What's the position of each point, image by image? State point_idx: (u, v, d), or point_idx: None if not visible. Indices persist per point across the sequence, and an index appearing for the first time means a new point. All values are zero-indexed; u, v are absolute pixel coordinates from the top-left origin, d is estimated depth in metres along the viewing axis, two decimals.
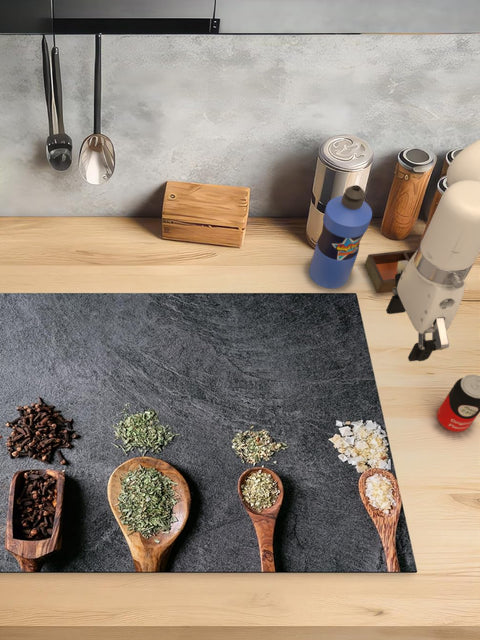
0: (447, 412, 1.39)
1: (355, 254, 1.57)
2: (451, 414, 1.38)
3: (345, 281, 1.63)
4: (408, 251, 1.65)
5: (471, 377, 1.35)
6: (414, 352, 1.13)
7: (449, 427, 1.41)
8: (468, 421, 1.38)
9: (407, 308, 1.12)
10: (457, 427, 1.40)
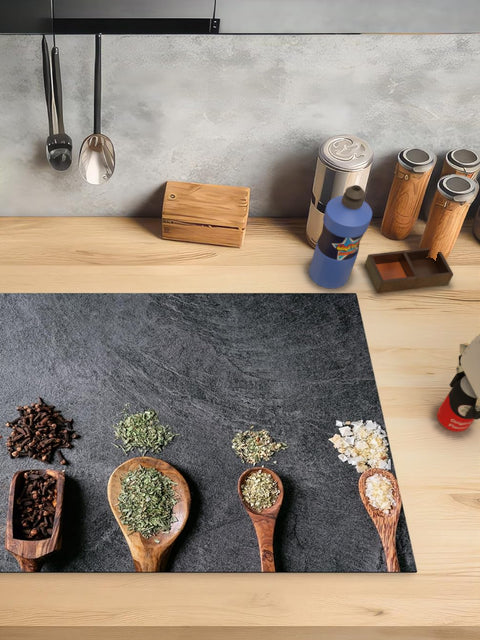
0: (447, 412, 1.39)
1: (355, 254, 1.57)
2: (451, 414, 1.38)
3: (345, 281, 1.63)
4: (408, 251, 1.65)
5: None
6: (471, 412, 1.34)
7: (449, 427, 1.41)
8: (468, 421, 1.38)
9: (470, 379, 1.31)
10: (457, 427, 1.40)
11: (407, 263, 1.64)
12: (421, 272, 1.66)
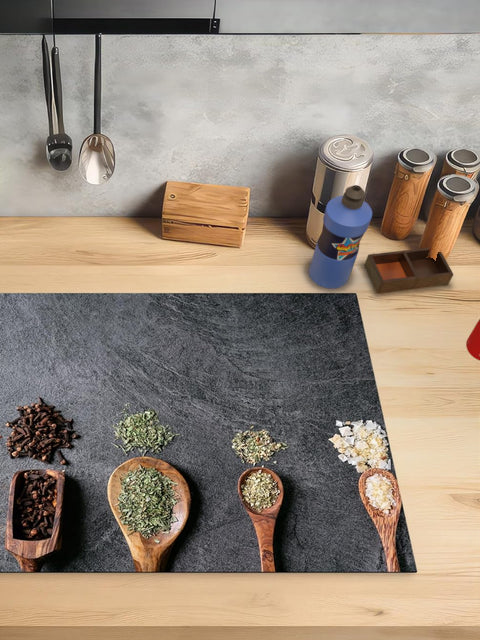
0: (477, 340, 1.26)
1: (355, 254, 1.57)
2: None
3: (345, 281, 1.63)
4: (408, 251, 1.65)
5: None
6: None
7: None
8: None
9: None
10: None
11: (407, 263, 1.64)
12: (421, 272, 1.66)
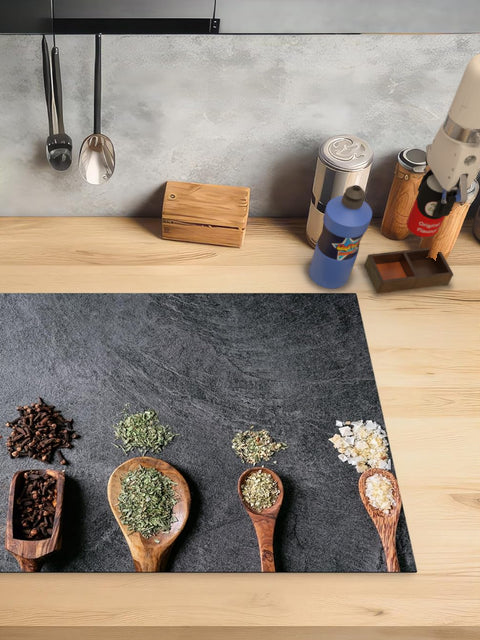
0: (415, 215, 1.44)
1: (355, 254, 1.57)
2: (419, 216, 1.43)
3: (345, 281, 1.63)
4: (408, 251, 1.65)
5: None
6: (437, 208, 1.39)
7: (418, 232, 1.46)
8: (435, 222, 1.43)
9: (436, 172, 1.36)
10: (425, 230, 1.45)
11: (407, 263, 1.64)
12: (421, 272, 1.66)
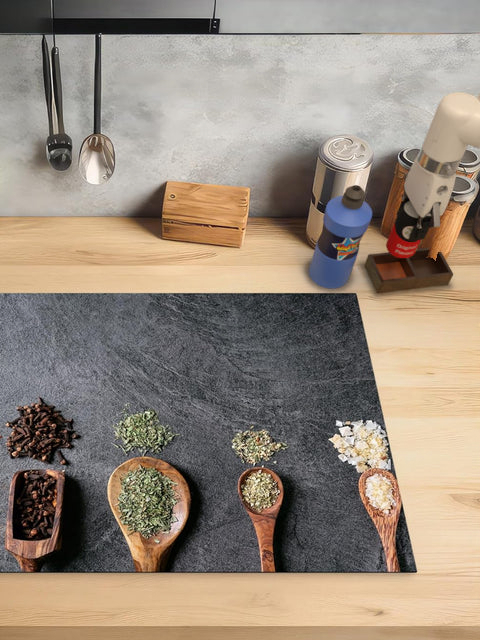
0: (393, 238, 1.54)
1: (355, 254, 1.57)
2: (397, 239, 1.53)
3: (345, 281, 1.63)
4: None
5: None
6: (413, 232, 1.49)
7: (396, 253, 1.56)
8: (412, 245, 1.53)
9: (412, 199, 1.46)
10: (403, 252, 1.55)
11: (407, 263, 1.64)
12: (421, 272, 1.66)
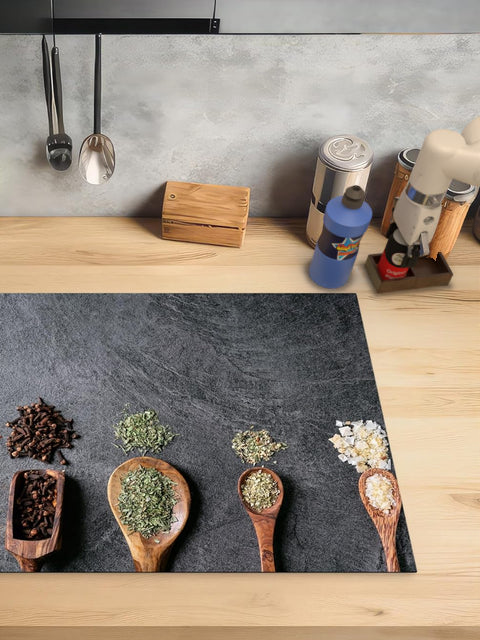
0: (383, 263, 1.60)
1: (355, 254, 1.57)
2: (387, 264, 1.60)
3: (345, 281, 1.63)
4: None
5: None
6: (404, 260, 1.54)
7: (386, 278, 1.62)
8: (401, 270, 1.59)
9: (400, 228, 1.53)
10: (392, 277, 1.61)
11: None
12: (421, 272, 1.66)
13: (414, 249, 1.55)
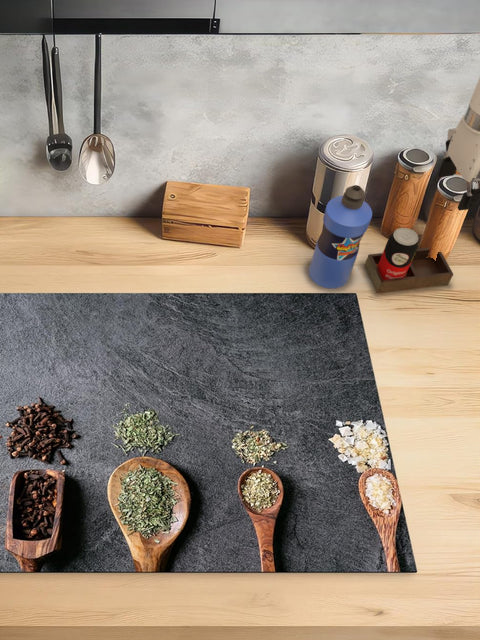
0: (383, 263, 1.60)
1: (355, 254, 1.57)
2: (387, 264, 1.60)
3: (345, 281, 1.63)
4: None
5: (402, 230, 1.56)
6: (463, 201, 1.37)
7: (386, 278, 1.62)
8: (401, 270, 1.59)
9: (457, 163, 1.36)
10: (392, 277, 1.61)
11: None
12: (421, 272, 1.66)
13: (414, 249, 1.55)
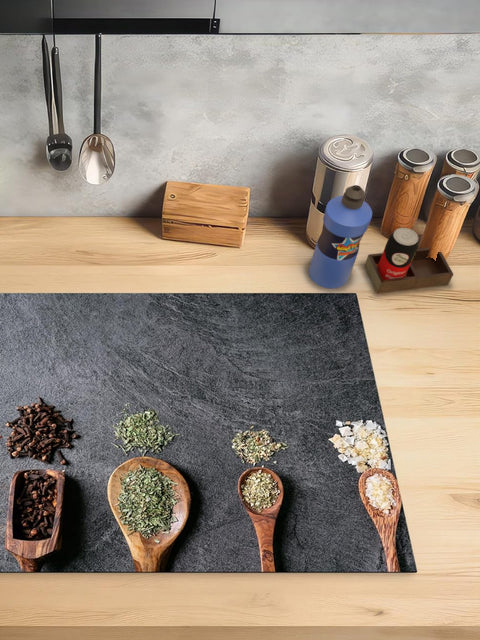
0: (383, 263, 1.60)
1: (355, 254, 1.57)
2: (387, 264, 1.60)
3: (345, 281, 1.63)
4: None
5: (402, 230, 1.56)
6: None
7: (386, 278, 1.62)
8: (401, 270, 1.59)
9: None
10: (392, 277, 1.61)
11: None
12: (421, 272, 1.66)
13: (414, 249, 1.55)
